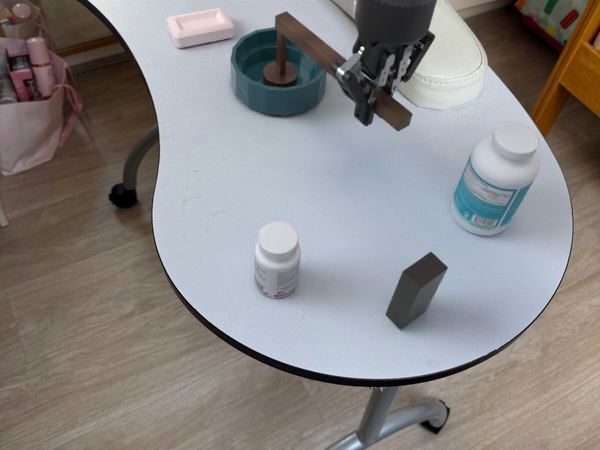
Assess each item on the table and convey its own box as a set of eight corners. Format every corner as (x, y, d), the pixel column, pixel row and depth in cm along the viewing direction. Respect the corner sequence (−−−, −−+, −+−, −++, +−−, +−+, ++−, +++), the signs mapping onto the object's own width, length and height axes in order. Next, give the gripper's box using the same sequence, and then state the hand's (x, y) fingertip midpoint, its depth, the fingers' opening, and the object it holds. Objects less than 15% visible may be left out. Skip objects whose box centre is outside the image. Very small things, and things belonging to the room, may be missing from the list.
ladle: (255, 80, 82) (256, 11, 73) (283, 67, 84) (286, -1, 75) (374, 190, 71) (391, 125, 62) (402, 172, 73) (422, 108, 64)
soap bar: (235, 38, 89) (234, 25, 88) (177, 50, 87) (175, 36, 85) (223, 18, 92) (223, 4, 90) (167, 29, 90) (165, 15, 88)
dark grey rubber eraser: (384, 314, 63) (402, 271, 56) (410, 295, 65) (431, 250, 58) (400, 330, 62) (419, 288, 55) (426, 310, 64) (448, 267, 57)
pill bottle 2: (489, 185, 75) (530, 106, 65) (519, 230, 71) (567, 155, 61) (437, 197, 74) (470, 118, 63) (465, 244, 70) (504, 169, 59)
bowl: (338, 74, 86) (342, 46, 82) (300, 130, 79) (303, 102, 75) (258, 45, 89) (259, 17, 85) (215, 97, 82) (213, 69, 78)
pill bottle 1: (300, 266, 66) (306, 222, 60) (293, 302, 64) (298, 261, 57) (259, 258, 67) (260, 214, 60) (250, 294, 64) (250, 252, 57)
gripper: (374, 25, 50) (348, 161, 64) (479, -23, 56) (434, 112, 70) (318, -17, 54) (305, 122, 68) (423, -58, 59) (390, 77, 73)
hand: (370, 116), depth 69 cm, fingers closed on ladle
